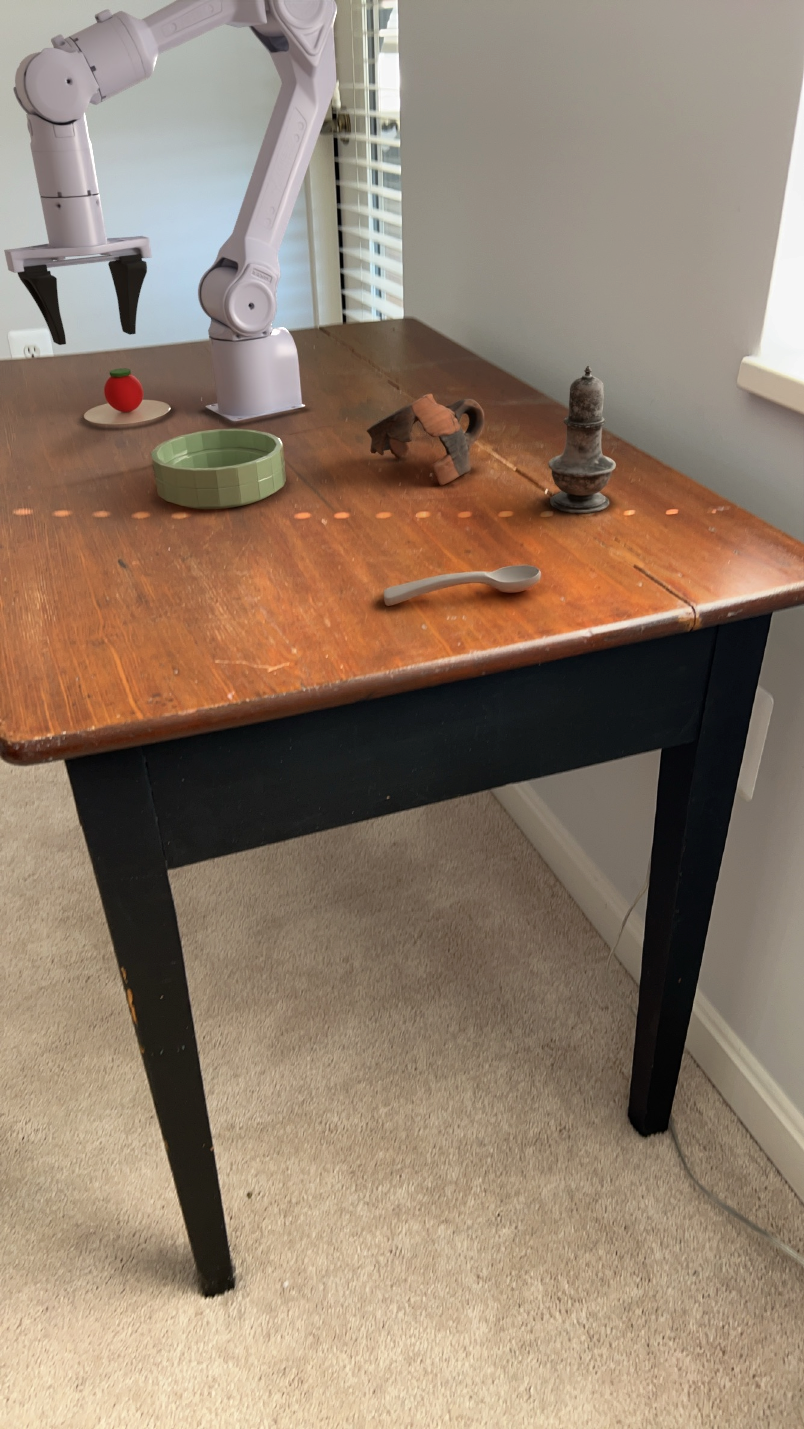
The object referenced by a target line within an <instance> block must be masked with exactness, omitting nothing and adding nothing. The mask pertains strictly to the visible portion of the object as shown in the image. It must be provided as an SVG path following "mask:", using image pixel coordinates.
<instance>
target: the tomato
mask: <svg viewBox="0 0 804 1429" xmlns="http://www.w3.org/2000/svg"><path fill="white" fill-rule="evenodd" d="M109 376H110V377H108V378H107V380H106V382H105V384H104V392H103V394H104V397H105V400H106V402H107V403H109V405H110V406H111V407H113V408H114V409H116V410H118V411H121V412H130V411H133V410H135V409H136V408H137V407H138V406H139V405H140V404H141V402H142V400H144V389H143V385H142V383H141V382H140V380H139V379H137V378H138V377H136V376H134V375H133V374H132V370H131V369H130V368H127V367H126V368H125V367H122V368H115V369H111V370H110V371H109Z"/></svg>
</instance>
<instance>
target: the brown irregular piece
mask: <svg viewBox="0 0 804 1429" xmlns="http://www.w3.org/2000/svg"><path fill="white" fill-rule="evenodd" d="M464 414H466V415H467V417H468V425H467V429H465V430H463V428H462V425H461V424H460V421H461V419H462V416H463V415H464ZM416 422H419V423H420V424H421V426H422V429H423V431H424V432H425V433H427V434H428V435H429V436H430V437H432V438H439V441H440V443H441V445H442V446H443V447H444V449H445V455H444V456H443V457H442V458H440V459H438V460H437V461H435V462H434V463H432V464H431V469H432V471H433V473H434V474H435V476H436V480H437V481H438V485H439V486H444V485H445V484H449V483H450V482H452V481H454V480H455V479H458V478H459V477H460V476H463V475H464V474H467V473H468V472H470V471H471V470H472V466H471V459H470V451H471V447H473V445H474V444H475V443H476V442H477V441H478V440H479V438H480V436H481V434H482V433H483V430H484V427H485V412H484V409H483V408H482V406H481V405H480V403H478V402H477V401H476V400H474V399H472V398H462V399H459V400H457V401H456V402H453V403H452V404H449V405H445V406H444V405H442V404H439V403H437V402H436V400H435V398H434V396H433V394H432V393H427V394H424V395H423V396H421V397H420V398H418V399H416V400H414V401H412V402H411V403H409V404H408V405H405V406H403V407H402V408H400V409H398V410H396V411H395V412H392V413H391V414H389V415H387V416H385V417H384V418H382V419H380V420H378V421H377V422H375V423H374V424H372V425H370V426H369V428H367V429H366V432H367V434H368V435H369V437H370V438H371V441H370V442H371V443H370V453H371V454H376V453H378V455H380V456H384V454H385V452H386V451H390V454H392V455H393V456H394V457H395V458H396V459H398V460H401V459H402V458H403V457H404V456H406V455H407V454H408V452H409V451H410V446H409V443H411V442H413V437H412V434H411V433H412V429H413V425H415V424H416Z"/></svg>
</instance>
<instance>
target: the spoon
mask: <svg viewBox="0 0 804 1429" xmlns="http://www.w3.org/2000/svg"><path fill="white" fill-rule="evenodd" d="M541 578H542V573H541V570H540V569H539V568H538V567H536V566H535V565H530V564H516V565H509V566H503V567H500V568H498V569H495V570H493V571H481V570H480V571H466V572H462V571H461V572H454V573H446V574H440V575H435V576H430V577H426V578H422V579H419V580H413V581H409V582H406V583H400V584H397V585H392V586H389V587H387V588H385V589H384V590H383V592H382V595H383V601H384V604H385V605H386V606H387V607H389V606H395V605H397V604H400V603H402V602H406V601H408V600H411V599H414V598H416V597H419V596H422V595H425V594H429V593H432V592H435V591H438V590H442V589H446V588H447V589H448V588H451V587H455V586H461V585H465V584H466V585H467V584H480V585H481V584H482V585H485V586H489V587H492V588H494V589H496V590H497V591H499V592H502V593H507V594H509V593H510V594H512V593H513V594H514V593H520V592H524V591H526V590H529V589H532V588H533V587H535V586H537V584H538V583H539V581H540V580H541Z"/></svg>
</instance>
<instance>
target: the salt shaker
mask: <svg viewBox="0 0 804 1429" xmlns="http://www.w3.org/2000/svg"><path fill="white" fill-rule="evenodd" d="M583 372H584V374H583V375H582V376H580V377H578V378H576V379H574V380H573V381H572V382H571V383H570V386H569V393H568V394H569V395H568V396H569V397H568V412H567V413H568V414H567V416H566V417H564V419H563V424H565V426H566V432H565V433H566V435H565V445H564V449H563V452H562V454H560V455H557V456H554V457H552V458H551V459H550V460H549V461H548V464H547V465H548V468H549V469H550V470H551V477H552V480H553V483H554V485H555V486H556V487H557V488H558V490H560V491H558V492H557V493H555V494H554V495H553V496H551V497H550V499H549V503H550V505H551V506H552V507H553V508H554V509H556V510H558V511H561V512H566V513H572V514H592V513H596V512H600V511H603V510H605V509H606V508H608V507H609V506H610V499H609V498H608V497H607V496H606V495H604V494H603V493H601V491H602V490H603V489H605V488H606V487H607V485H608V483H609V481H610V479H611V477H612V472H613V471H614V470H615V469H616V466H617V465H616V462H615V460H614V459H612V458H610V457H608V456H606V455H603V449H602V434H603V426H604V425H606V423H607V420H606V418H605V417H603V410H604V409H603V407H604V395H605V385H604V383H603V381H602V380H601V379H599V378H598V377H595V376H594V375H593V374H591V373H592V372H593V370H592V367H590V365H587V366H586V367H585V369H584V370H583Z"/></svg>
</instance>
